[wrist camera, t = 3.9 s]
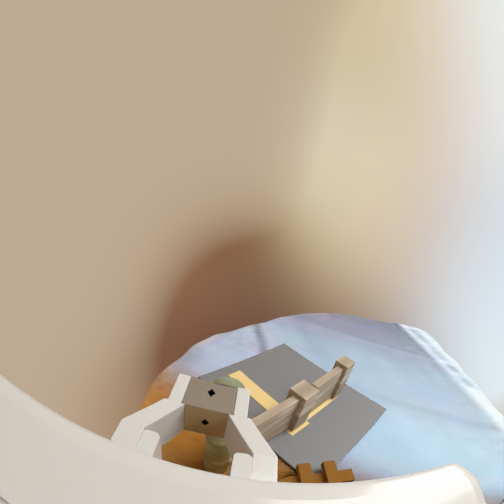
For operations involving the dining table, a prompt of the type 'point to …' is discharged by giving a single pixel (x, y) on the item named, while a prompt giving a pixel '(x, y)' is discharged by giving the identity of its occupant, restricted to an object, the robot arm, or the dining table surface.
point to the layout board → (318, 422)
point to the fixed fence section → (333, 381)
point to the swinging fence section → (264, 421)
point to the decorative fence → (320, 474)
